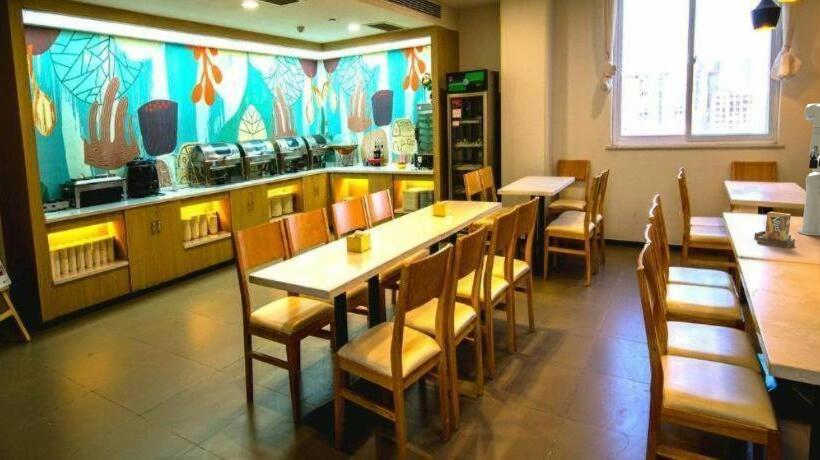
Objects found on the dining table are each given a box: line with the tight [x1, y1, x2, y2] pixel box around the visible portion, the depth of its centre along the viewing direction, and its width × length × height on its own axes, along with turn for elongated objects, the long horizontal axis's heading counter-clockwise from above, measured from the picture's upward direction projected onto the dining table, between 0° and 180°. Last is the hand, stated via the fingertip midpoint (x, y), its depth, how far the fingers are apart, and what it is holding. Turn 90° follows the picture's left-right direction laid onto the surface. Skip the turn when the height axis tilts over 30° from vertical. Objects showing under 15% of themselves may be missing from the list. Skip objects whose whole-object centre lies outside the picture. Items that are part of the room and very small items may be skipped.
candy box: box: [765, 211, 792, 241], centre depth 265 cm, size 9×4×15 cm, turn 34°
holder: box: [754, 230, 796, 249], centre depth 270 cm, size 16×18×3 cm
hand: (817, 167), depth 263 cm, fingers open, 9 cm apart
